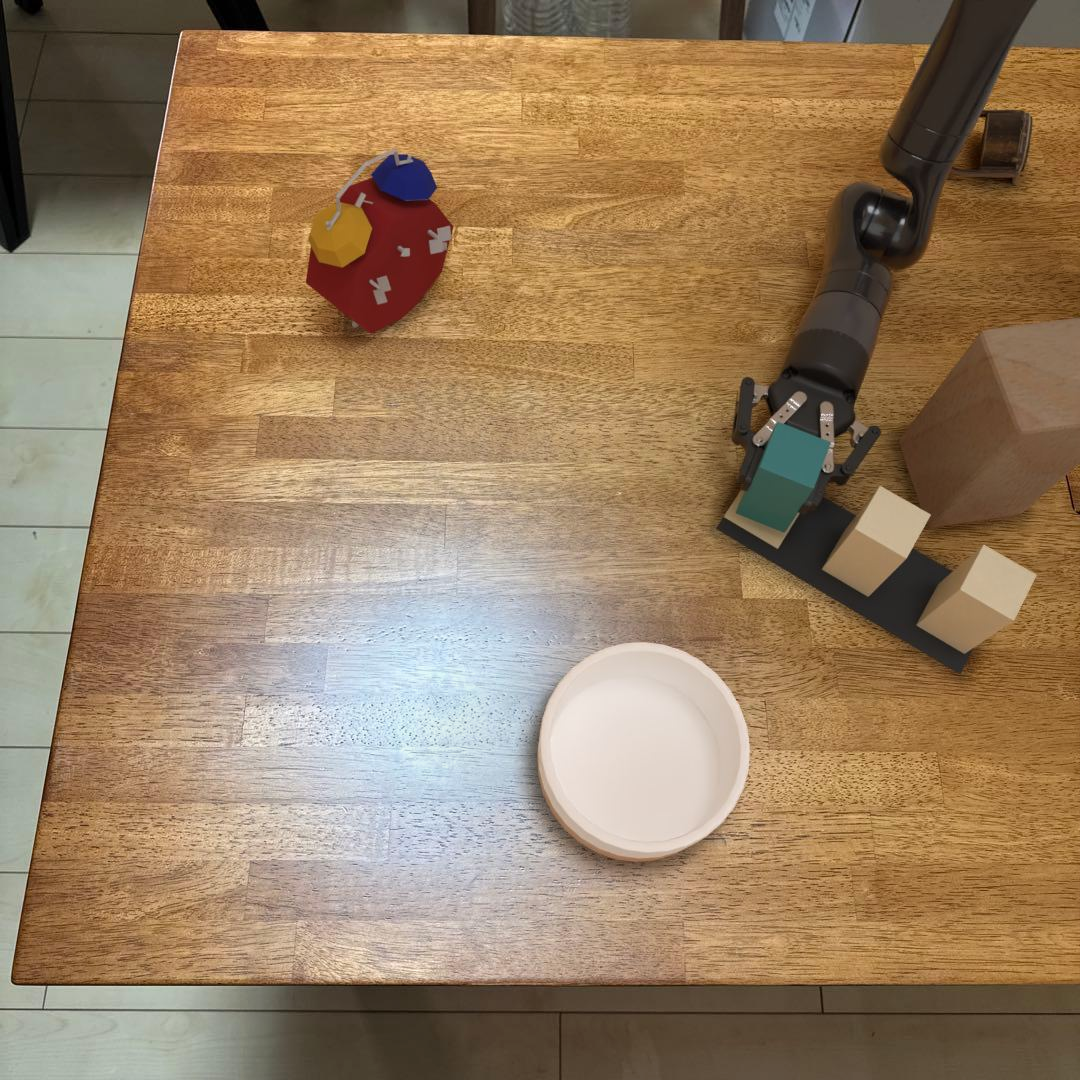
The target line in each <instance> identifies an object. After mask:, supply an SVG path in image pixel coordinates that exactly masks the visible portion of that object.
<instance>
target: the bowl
mask: <svg viewBox="0 0 1080 1080" xmlns="http://www.w3.org/2000/svg"><path fill="white" fill-rule="evenodd" d="M540 723H541V724H540V730H539V737H538V745H537V754H536V755H537V756H536V760H537V761H536V762H537V776H538V780H539V784H540V787H541V792H542V795H543V798H544V800H545V802H546V803H547V806H548V807H549V809H550V812H551V815H553V816H554V818H555V819H556V820H557V823H559V825H560V826H561V827H562V828H563V830H565V832H566V833H568V834H569V835H570V836H571V837H572V838H573V839H575V840H576V842H578V843H579V844H581V845H582V846H584V847H586V848H587V849H589V850H591V851H593V852H595V853H596V854H598V855H602V856H605V857H608V858H611V859H613V860H617V861H618V860H619V861H626V862H633V863H637V862H652V861H657V860H661V859H664V858H668V857H672V856H674V855H675V854H677V853H681V852H682V851H684V850H685V849H687V848H689V847H691V846H693V845H695V844H696V843H698V842H700V841H701V840H703V839H705V838H706V837H707V836H709V835H710V834H711V833H712V832H714V831H715V830H716V829H717V828H718V827H719V826H721V825H722V824H723V823H724V822H725V820H726V819H727V818H728V817H729V815H730V814H731V812H732V811H733V810H734V809H735V807H736V806H737V803H738V801H739V799H740V797H741V795H742V793H743V791H744V789H745V786H746V782H747V779H748V774H749V770H750V755H751V745H750V737H749V731H748V726H747V722H746V720H745V717H744V714H743V711H742V708H741V706H740V704H739V702H738V701H737V699H736V697H735V695H734V694H733V692H732V690H731V689H730V687H729V686H728V685H727V684H726V683H725V682H724V680H723V679H722V678H721V677H720V675H718V674H717V672H715V671H714V670H713V669H712V668H711V667H709V666H708V665H707V664H706V663H705V662H703V661H702V660H701V659H698V658H697V657H695V656H693V655H691V654H689V653H688V652H686V651H684V650H682V649H678V648H675V647H673V646H669V645H666V644H662V643H661V644H660V643H655V642H647V641H637V642H622V643H620V644H614V645H611V646H607V647H604V648H601V649H600V650H598V651H595V652H593V653H592V654H589V655H587V656H586V657H585V658H583V659H581V660H580V661H579V662H578V663H576V664H575V665H573V666H572V667H571V668H570V669H569V670H568V672H567V673H566V674H565V675H564V676H563V677H562V678H561V680H560V681H558V683H557V685H556V686H555V688H554V690H553V692H552V693H551V695H550V697H549V698H548V701H547V703H546V706H545V708H544V712H543V715H542V718H541V722H540Z"/></svg>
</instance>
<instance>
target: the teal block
mask: <svg viewBox="0 0 1080 1080" xmlns="http://www.w3.org/2000/svg"><path fill="white" fill-rule="evenodd" d="M830 444H831V442H829V441H827V440H824V439H821V438H819V437H816V436H814V435H811V434H809V433H806V432H803V431H801V430H798V429H796V428H793V427H791V426H788V425H785V424H783V423H780V422H777V423H776V425H775V427H774V429H773V431H772V433H771V435H770V437H769V439H768V442H767V443H766V445H765V447H764V452H763V454H762V457H761V460H760V462H759V465H758V467H757V470H756V472H755V475H754V477H753V480H752V483H751V485H750V487H749V489H748V491H747V492H746V491H744V493H743V495H742V498H741V500H740V503H739V505H738V508H737V510H736V514H739V515H741V516H744V517H746V518H748V519H751V520H753V521H756V522H758V523H761V524H763V525H766V526H768V527H771V528H773V529H776V530H778V531H781V532H783V533H785V531H786V530H787V528H788V527H789V525H790V524H791V522H792V521H793V519H794V518H795V516H796V515H797V513H798V511H799V510H800V508H801V507H802V505H803V504H804V503H805V501H806V500H807V498H808V497H809V495H810V494H811V492H812V491H813V489H814V487H815V484H816V482H817V479H818V476H819V474H820V471H821V468H822V465H823V463H824V460H825V457H826V455H827V452H828V449H829V446H830Z"/></svg>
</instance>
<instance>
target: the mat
mask: <svg viewBox="0 0 1080 1080" xmlns="http://www.w3.org/2000/svg"><path fill="white" fill-rule="evenodd" d="M743 493H744V491H743V490H741V489H740V491H739V492H738V494H737V495H736V497H735V498H734V500H733V502H732V503H731V504H730V506H729V508H728V509H727V511H726V512H725V514H724V515H723V517H722V519H721V521H720V522H719V523H718V525H717V527H716V528H715V529H716V530H717V531H719V532H720V533H722V534H724V535H725V536H726V537H728V538H730V539H732V540H734V541H736V542H737V543H738V544H740V545H742V546H744V547H745V548H747V549H749V550H751V551H752V552H753V553H756V554H757V555H759V556H760V557H762V558H764V559H766V560H767V561H769V562H771V563H772V564H774V565H776V566H777V567H779V568H781V569H783V570H784V571H786V572H788V573H789V574H790V575H792V576H794V577H795V578H798V580H801V581H803V582H804V583H806V584H807V585H809V586H811V587H813V588H814V589H816V590H818V591H819V592H821V593H823V594H824V595H826V596H827V597H829V598H831V599H832V600H835V601H836V602H837V603H840V604H841V605H842V606H845V607H846V608H848V609H849V610H851V611H852V612H854V613H856V614H857V615H859V616H861V617H863V618H864V619H866V620H868V621H869V622H871V623H872V624H875V625H876V626H878V627H879V628H881V629H883V630H885V631H886V632H888V633H889V634H891V635H893V636H895V637H896V638H898V639H899V640H901V641H903V642H905V643H906V644H908V645H909V646H912V647H913V648H915V649H917V650H919V652H921V653H923V654H925V655H926V656H928V657H929V658H931V659H933V660H935V661H937V662H938V663H940V664H942V665H943V666H945V667H947V668H948V669H950V670H952V671H953V672H955V673H957V674H958V675H961V674H962V672H963V670H964V668H965V666H966V664H967V663H968V660H969V658H970V656H971V655H972V652H973V651H974V649H975V647H974V648H972V649H971V650H969V651H968V652H966V653H965V654H964V653H962V652H960V651H959V650H957V649H955V648H954V647H952V646H950V645H949V644H947V643H945V642H944V641H942V640H940V639H938V638H937V637H935V636H933V635H932V634H930V633H928V632H927V631H925V630H923V629H922V628H920V627H918V626H917V625H916V624H917V623H918V621H919V619H920V617H921V615H922V613H923V611H924V610H925V608H926V606H927V604H928V602H929V600H930V598H931V597H932V595H933V593H934V591H935V589H936V587H937V585H938V584H939V583H940V582H941V581H942V580H944V579H945V578H946V577H947V576H948V575H949V574H950V573H952V572H953V571H954V570H952V569H949V568H948V567H946V566H944V565H943V564H941V563H939V562H938V561H936V560H934V559H932V558H931V557H929V556H927V555H926V554H924V553H923V552H920V551H918V550H917V549H915V548H914V547H913V548H912V550H911V552H910V553H909V555H908V557H907V559H906V560H905V561H904V562H903V563H902V564H901V565H900V566H899V567H898V568H897V569H896V570H895V571H894V572H893V573H892V574H891V575H890V576H889V577H888V578H887V579H886V580H885V581H884V582H883V583H882V584H881V585H880V586H879V587H878V588H877V589H876V590H875V591H874V592H873V593H872V594H871V595H870V596H869V597H868V596H866V595H864V594H862V593H861V592H859V591H857V590H856V589H854V588H852V587H851V586H849V585H847V584H846V583H844V582H842V581H841V580H839V579H837V578H835V577H834V576H832V575H830V574H829V573H827V572H825V571H824V570H822V568H823V566H824V564H825V563H826V561H827V559H828V558H829V556H830V554H831V553H832V551H833V549H834V548H835V546H836V544H837V542H838V541H839V539H840V537H841V536H842V534H843V532H844V531H845V529H846V528H847V527H848V525H849V524H850V523H851V522H852V520H853V519H854V518H855V517H856V515H857V514H854V513H853V512H851V511H849V510H847V509H846V508H844V507H842V506H840V504H836V503H835V502H833V501H832V500H830V499H828V498H827V497H825V496H823V497H822V500H821V502H820V504H819V505H818V507H817V508H816V509H815V510H814V511H813V512H812V511H808V512H807V514H806V515H803V514H801V513H797V515H796V516H795V518H794V519H793V521H792V522H791V524H790V525H789V527H788V528H787V530H786V531H785V533H783V532H781V531H778V530H776V529H773V528H771V527H768V526H766V525H763V524H761V523H758V522H756V521H753V520H751V519H748V518H746V517H744V516H741V515H739V514H736V510H737V508H738V505H739V503H740V500H741V498H742V495H743Z"/></svg>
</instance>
